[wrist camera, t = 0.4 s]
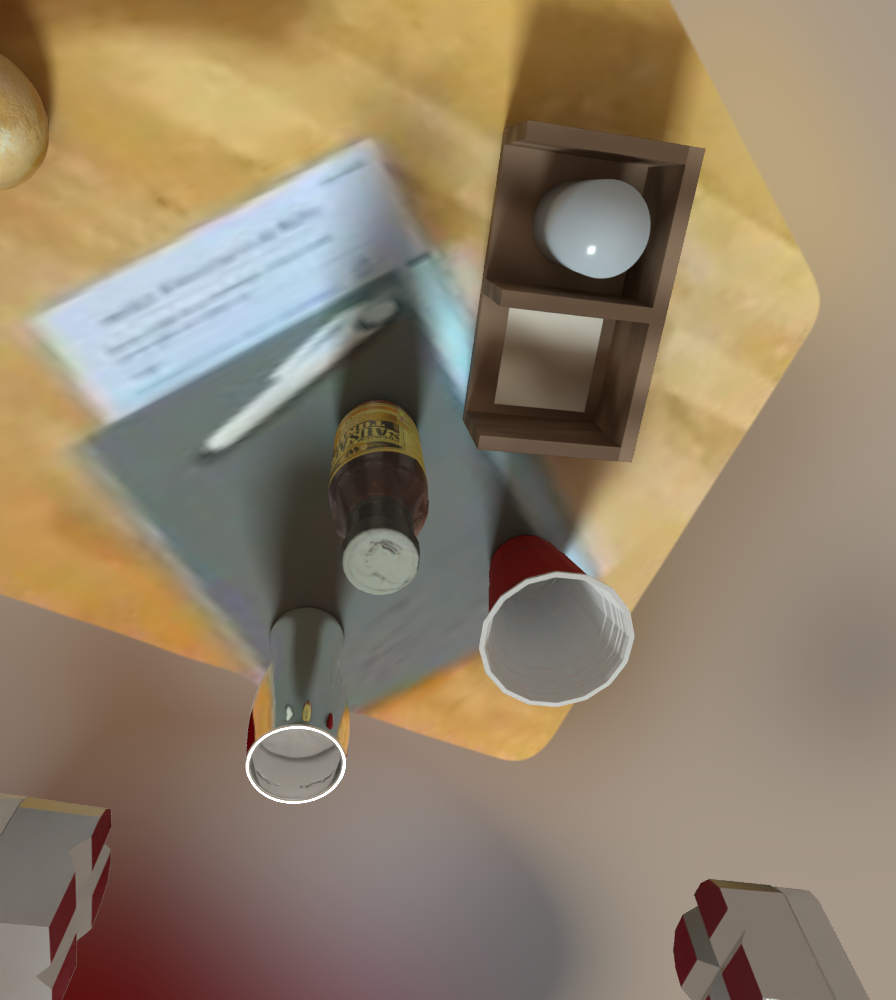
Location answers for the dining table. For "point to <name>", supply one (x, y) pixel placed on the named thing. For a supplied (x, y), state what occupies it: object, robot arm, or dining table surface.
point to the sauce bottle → (378, 496)
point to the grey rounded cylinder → (592, 226)
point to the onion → (20, 127)
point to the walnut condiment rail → (573, 300)
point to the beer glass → (300, 711)
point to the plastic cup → (551, 626)
